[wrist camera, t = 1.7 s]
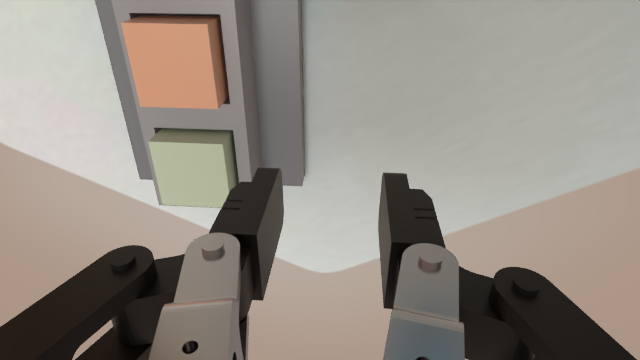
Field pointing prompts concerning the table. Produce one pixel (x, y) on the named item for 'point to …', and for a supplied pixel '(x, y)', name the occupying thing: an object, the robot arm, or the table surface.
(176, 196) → the button sage
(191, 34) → the button terracotta
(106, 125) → the table surface
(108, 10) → the console
